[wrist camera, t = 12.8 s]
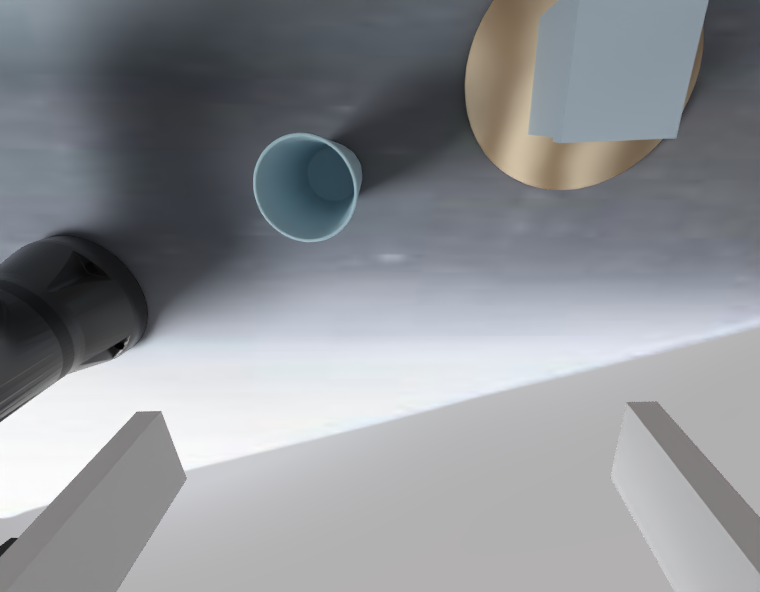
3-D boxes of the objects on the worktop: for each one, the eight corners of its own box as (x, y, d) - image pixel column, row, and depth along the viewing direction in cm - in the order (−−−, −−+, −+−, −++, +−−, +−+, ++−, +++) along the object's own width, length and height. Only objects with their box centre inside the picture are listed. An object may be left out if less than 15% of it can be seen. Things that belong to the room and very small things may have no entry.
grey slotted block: (527, 138, 34) (560, 143, 26) (539, 12, 30) (583, -29, 22) (613, 134, 33) (676, 138, 25) (636, 5, 30) (718, -40, 21)
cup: (362, 120, 36) (340, 119, 26) (382, 203, 38) (369, 230, 29) (285, 141, 37) (237, 148, 28) (310, 220, 40) (274, 251, 30)
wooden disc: (460, 191, 37) (461, 192, 36) (469, -50, 30) (470, -55, 29) (664, 185, 35) (671, 186, 34) (725, -74, 28) (735, -81, 27)
